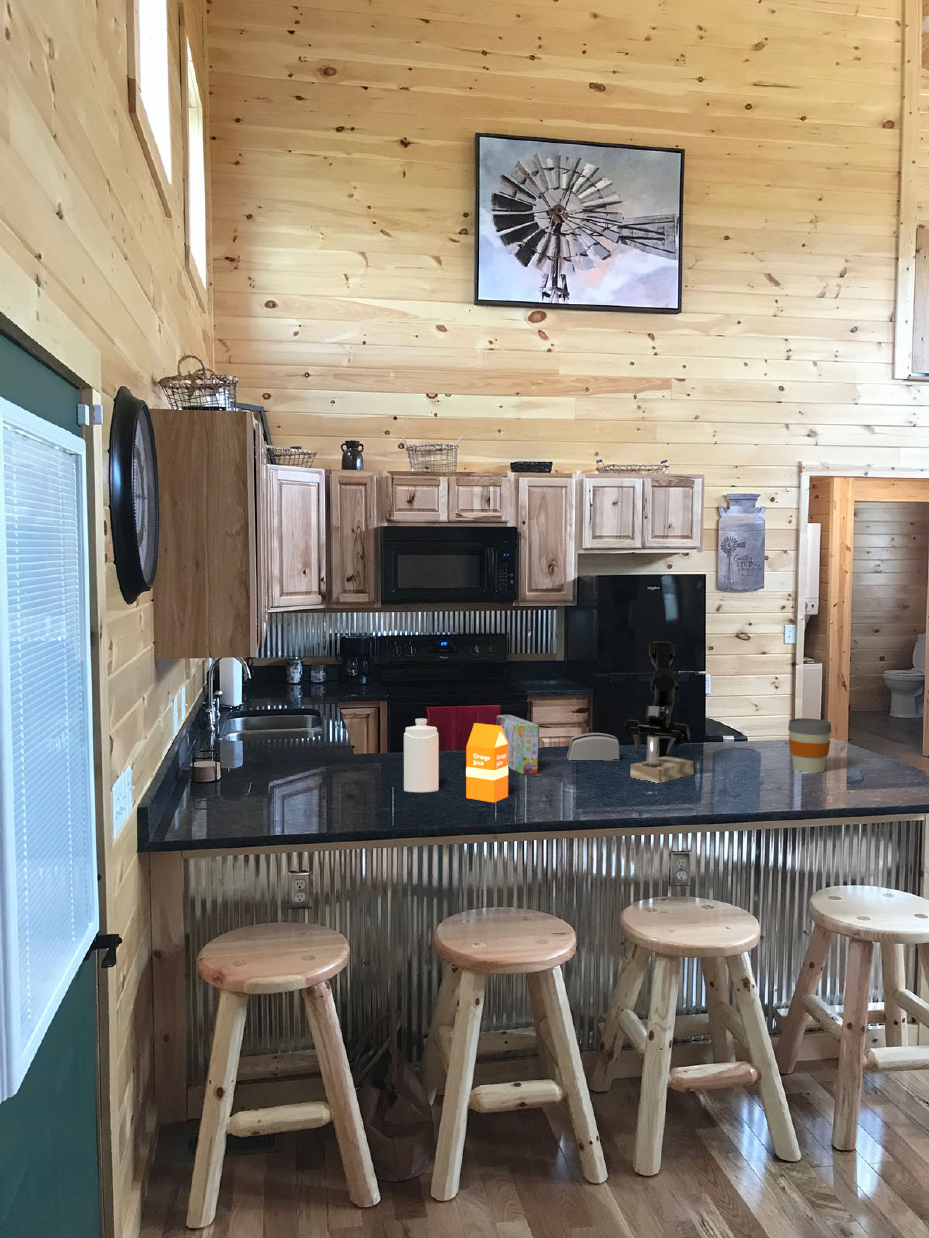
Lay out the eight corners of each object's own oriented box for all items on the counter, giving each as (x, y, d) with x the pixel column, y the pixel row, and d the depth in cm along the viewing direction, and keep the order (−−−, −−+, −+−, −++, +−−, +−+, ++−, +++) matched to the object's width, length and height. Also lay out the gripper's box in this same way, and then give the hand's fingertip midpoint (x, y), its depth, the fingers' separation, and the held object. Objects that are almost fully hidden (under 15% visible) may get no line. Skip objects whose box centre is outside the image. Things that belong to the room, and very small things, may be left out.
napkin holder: (615, 756, 321) (619, 730, 317) (619, 764, 317) (622, 737, 313) (565, 757, 319) (568, 730, 315) (568, 765, 315) (571, 738, 311)
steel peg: (650, 776, 292) (651, 735, 292) (660, 778, 290) (661, 736, 289) (644, 778, 290) (644, 736, 289) (653, 780, 288) (654, 738, 287)
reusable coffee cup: (817, 776, 294) (818, 726, 293) (779, 769, 303) (780, 721, 302) (838, 770, 302) (839, 721, 301) (800, 763, 311) (801, 716, 310)
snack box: (539, 774, 296) (539, 724, 295) (522, 775, 294) (522, 725, 293) (510, 760, 316) (510, 713, 315) (494, 761, 314) (494, 714, 313)
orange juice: (493, 802, 262) (494, 728, 261) (465, 797, 267) (466, 724, 265) (508, 796, 269) (508, 723, 267) (480, 792, 273) (481, 720, 272)
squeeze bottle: (403, 788, 277) (403, 792, 272) (403, 717, 276) (403, 721, 271) (438, 787, 278) (438, 792, 273) (438, 717, 276) (438, 720, 271)
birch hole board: (665, 768, 303) (665, 755, 303) (693, 774, 296) (693, 760, 296) (630, 777, 291) (630, 764, 291) (658, 783, 284) (658, 770, 283)
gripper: (626, 693, 296) (615, 735, 287) (688, 697, 288) (678, 741, 279) (633, 715, 304) (622, 757, 294) (694, 719, 295) (684, 763, 286)
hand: (651, 754), depth 288 cm, fingers open, 9 cm apart
